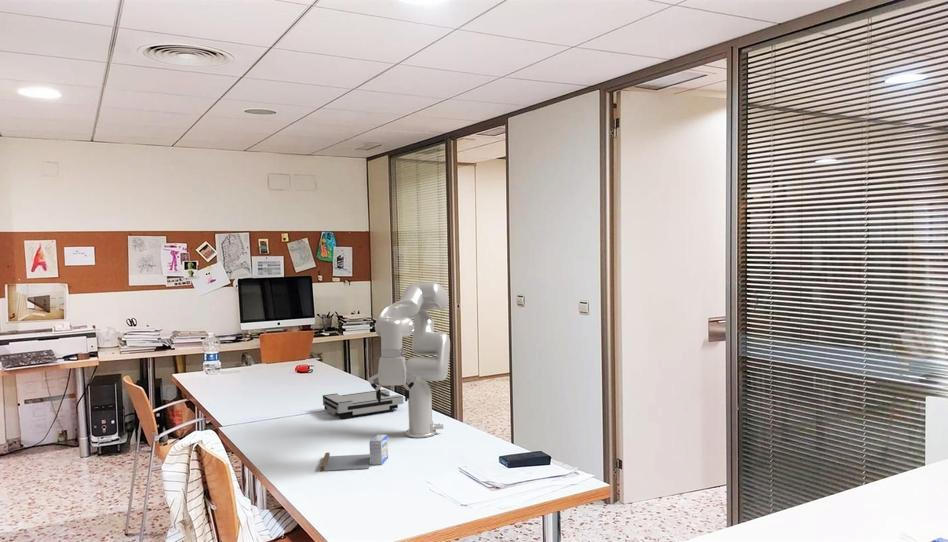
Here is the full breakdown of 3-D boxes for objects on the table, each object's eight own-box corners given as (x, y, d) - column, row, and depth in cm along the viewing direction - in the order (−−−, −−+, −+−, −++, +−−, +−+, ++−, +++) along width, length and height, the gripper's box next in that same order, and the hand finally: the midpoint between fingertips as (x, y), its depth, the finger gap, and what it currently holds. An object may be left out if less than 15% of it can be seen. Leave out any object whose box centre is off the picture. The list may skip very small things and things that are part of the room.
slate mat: (370, 455, 250) (370, 454, 250) (368, 469, 234) (368, 467, 234) (326, 457, 249) (326, 456, 249) (321, 471, 233) (321, 470, 233)
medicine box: (382, 465, 238) (381, 440, 238) (369, 464, 239) (369, 440, 239) (388, 458, 246) (387, 434, 246) (376, 457, 247) (376, 434, 247)
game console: (403, 411, 320) (403, 394, 319) (338, 421, 303) (338, 403, 303) (385, 403, 337) (385, 387, 337) (323, 412, 321) (322, 395, 320)
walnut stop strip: (329, 457, 249) (329, 452, 249) (324, 471, 233) (324, 466, 233) (325, 457, 249) (325, 452, 248) (320, 471, 233) (320, 466, 233)
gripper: (416, 351, 248) (417, 398, 248) (369, 352, 247) (370, 399, 248) (415, 354, 240) (416, 402, 241) (366, 355, 240) (367, 403, 240)
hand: (393, 401), depth 244 cm, fingers open, 9 cm apart
